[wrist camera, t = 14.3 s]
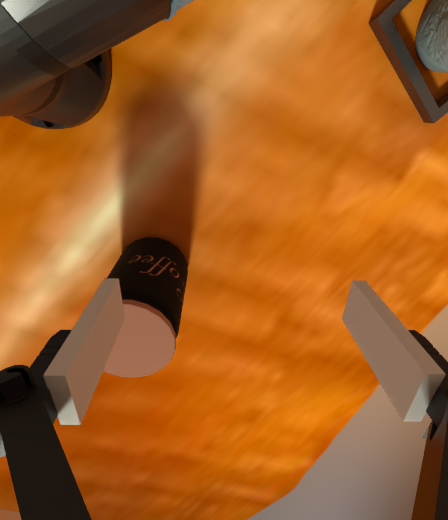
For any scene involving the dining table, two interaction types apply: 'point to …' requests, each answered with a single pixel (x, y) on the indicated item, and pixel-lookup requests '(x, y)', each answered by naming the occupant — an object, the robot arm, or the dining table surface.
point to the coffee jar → (148, 307)
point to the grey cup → (433, 36)
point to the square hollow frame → (406, 63)
